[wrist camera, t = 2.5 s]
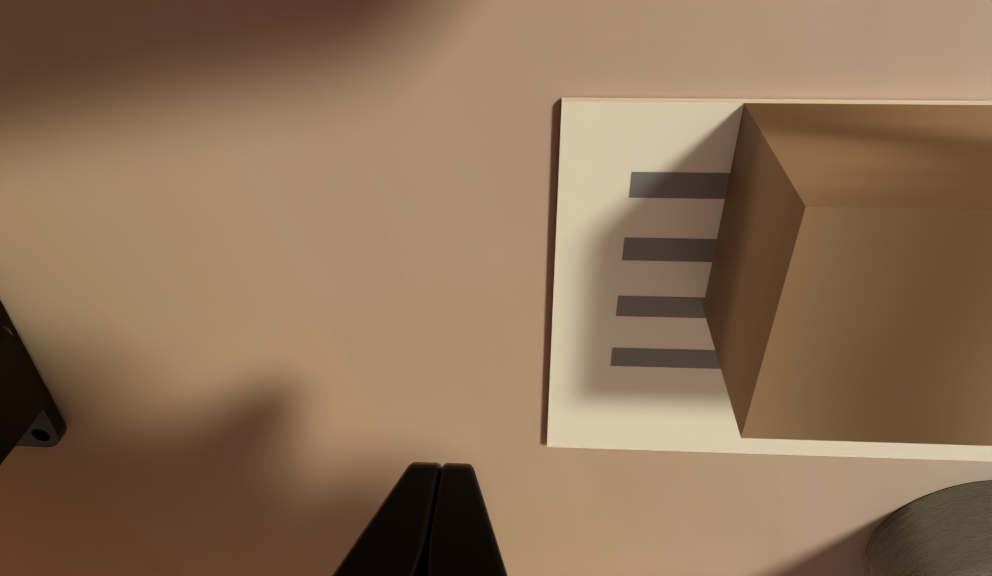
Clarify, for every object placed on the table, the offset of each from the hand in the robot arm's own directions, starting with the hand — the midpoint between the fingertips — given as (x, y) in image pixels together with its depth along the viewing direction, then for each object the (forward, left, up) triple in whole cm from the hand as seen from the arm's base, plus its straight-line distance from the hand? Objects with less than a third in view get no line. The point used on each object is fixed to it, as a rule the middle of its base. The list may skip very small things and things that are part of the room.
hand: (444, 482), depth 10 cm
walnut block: (+8, 0, -7) cm, 11 cm away
